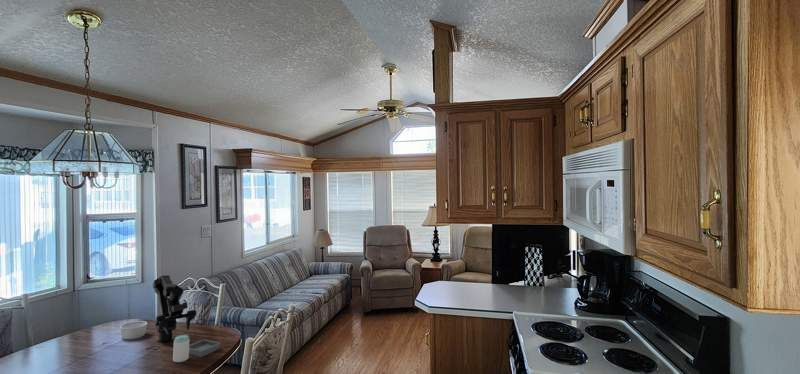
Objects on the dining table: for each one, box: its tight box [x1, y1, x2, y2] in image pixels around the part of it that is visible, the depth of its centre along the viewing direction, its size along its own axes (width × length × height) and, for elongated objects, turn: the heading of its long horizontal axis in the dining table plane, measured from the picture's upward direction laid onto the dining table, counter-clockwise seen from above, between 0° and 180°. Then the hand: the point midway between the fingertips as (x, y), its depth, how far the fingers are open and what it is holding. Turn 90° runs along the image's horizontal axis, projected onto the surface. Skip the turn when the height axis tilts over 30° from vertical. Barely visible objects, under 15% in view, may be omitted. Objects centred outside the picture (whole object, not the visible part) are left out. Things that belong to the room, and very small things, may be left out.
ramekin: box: [119, 320, 148, 340], centre depth 220 cm, size 13×13×7 cm
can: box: [172, 334, 191, 363], centre depth 191 cm, size 7×7×12 cm
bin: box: [189, 339, 222, 358], centre depth 203 cm, size 13×13×3 cm
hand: (178, 331), depth 196 cm, fingers open, 9 cm apart
